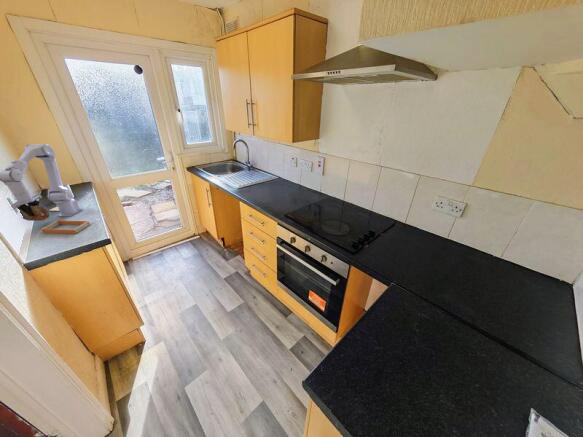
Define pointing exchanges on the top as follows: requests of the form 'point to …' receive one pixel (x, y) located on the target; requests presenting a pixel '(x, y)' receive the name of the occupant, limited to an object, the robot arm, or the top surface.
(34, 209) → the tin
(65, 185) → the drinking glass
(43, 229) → the wooden frame
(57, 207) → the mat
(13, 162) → the robot arm
